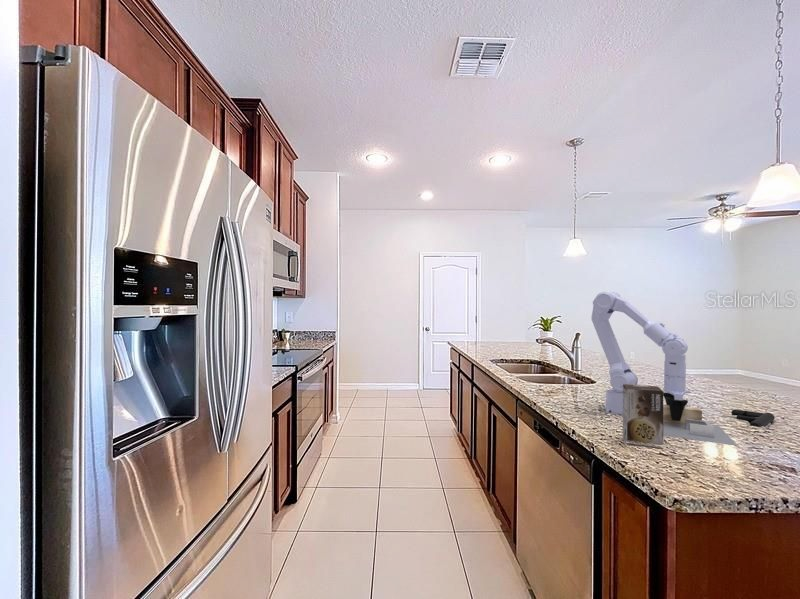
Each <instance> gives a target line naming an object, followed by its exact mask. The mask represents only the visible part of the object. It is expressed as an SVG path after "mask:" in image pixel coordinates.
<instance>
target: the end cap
mask: <svg viewBox="0 0 800 599" xmlns="http://www.w3.org/2000/svg"><path fill="white" fill-rule="evenodd" d="M712 425H713V424H712ZM712 425H711V422H710V421H709V420H703V419H702V420H694V419H686V418H685V429H687V430H689V434H690V435H698V436H705V437H713V438H714V427H713V426H712Z"/></svg>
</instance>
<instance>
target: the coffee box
mask: <svg viewBox="0 0 800 599" xmlns="http://www.w3.org/2000/svg"><path fill="white" fill-rule="evenodd" d="M663 392H664V391H663V389H661V388H660V387H659V386H657V385H643V384H642V385H641V384H637V385H628V384H623V415H622V440H623V441H624V443H625V445H626V446H630V445H631V446H632V447H641V448H650V449H660V450H664V447H657V446H651V445H645V444H637V443H633V442H641V443H648V444H649V443H650V444H660V445H664V444H665V443H664V441H665V440H664V433H663V405H664V396H663ZM628 441H632V443H631V442H628Z"/></svg>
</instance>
